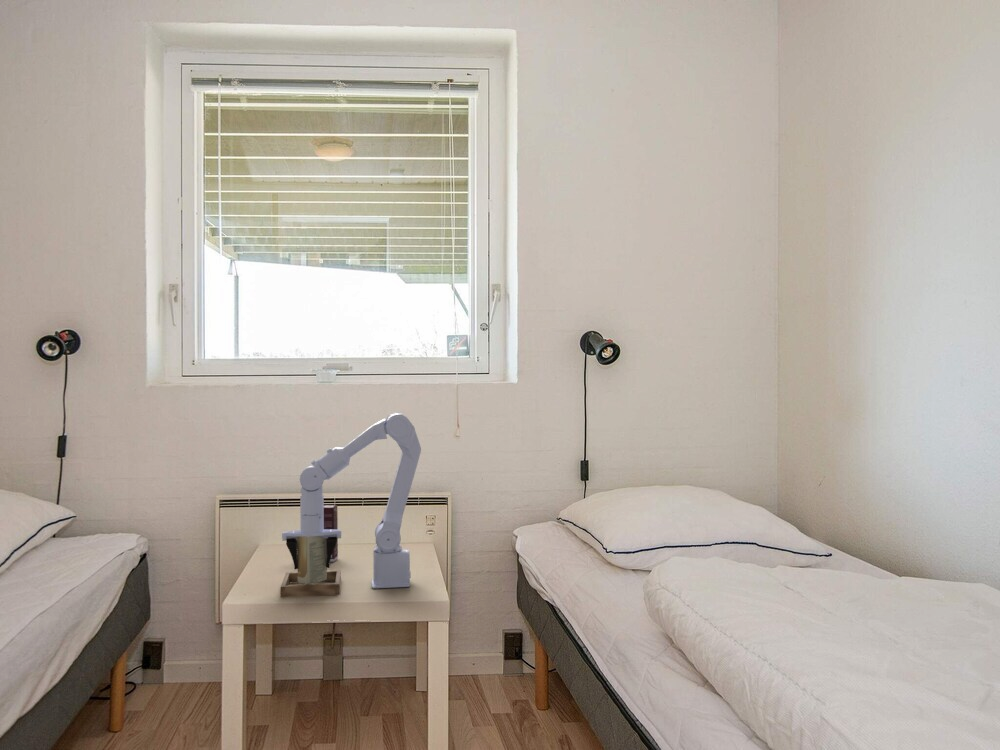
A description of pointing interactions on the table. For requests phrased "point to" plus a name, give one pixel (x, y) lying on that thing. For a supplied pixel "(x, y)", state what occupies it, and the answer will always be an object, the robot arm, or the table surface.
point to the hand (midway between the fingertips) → (312, 567)
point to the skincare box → (311, 559)
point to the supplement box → (331, 525)
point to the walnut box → (310, 585)
